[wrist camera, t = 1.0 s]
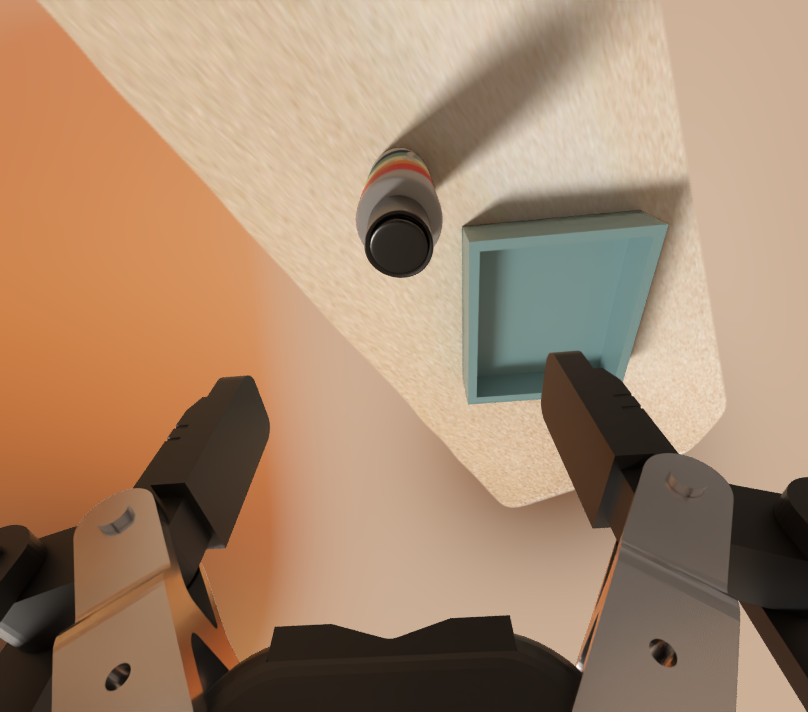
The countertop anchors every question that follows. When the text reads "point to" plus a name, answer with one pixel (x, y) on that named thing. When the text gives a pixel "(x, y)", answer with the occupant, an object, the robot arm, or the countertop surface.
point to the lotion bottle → (399, 214)
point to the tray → (552, 297)
